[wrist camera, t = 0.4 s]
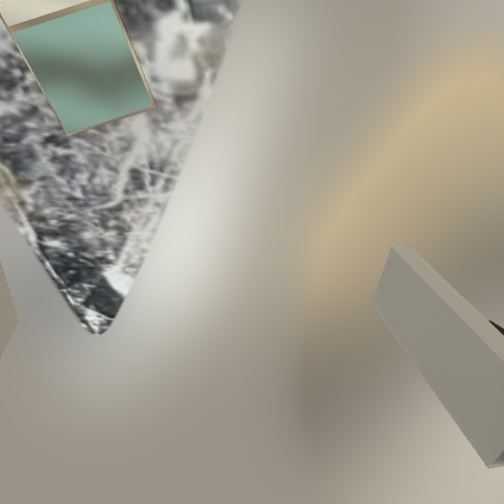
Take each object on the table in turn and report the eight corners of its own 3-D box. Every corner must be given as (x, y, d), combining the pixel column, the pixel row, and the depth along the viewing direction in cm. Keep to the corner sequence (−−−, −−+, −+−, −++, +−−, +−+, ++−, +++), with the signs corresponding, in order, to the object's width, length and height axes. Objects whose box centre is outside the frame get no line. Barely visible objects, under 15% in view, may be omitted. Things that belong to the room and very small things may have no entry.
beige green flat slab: (-69, -114, 23) (-77, -119, 22) (53, -154, 23) (49, -159, 22) (69, 134, 31) (66, 136, 31) (156, 105, 32) (155, 107, 31)
